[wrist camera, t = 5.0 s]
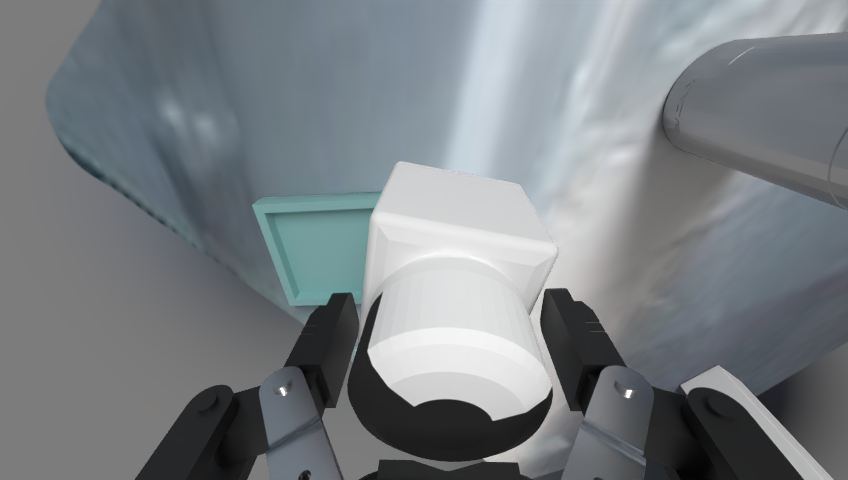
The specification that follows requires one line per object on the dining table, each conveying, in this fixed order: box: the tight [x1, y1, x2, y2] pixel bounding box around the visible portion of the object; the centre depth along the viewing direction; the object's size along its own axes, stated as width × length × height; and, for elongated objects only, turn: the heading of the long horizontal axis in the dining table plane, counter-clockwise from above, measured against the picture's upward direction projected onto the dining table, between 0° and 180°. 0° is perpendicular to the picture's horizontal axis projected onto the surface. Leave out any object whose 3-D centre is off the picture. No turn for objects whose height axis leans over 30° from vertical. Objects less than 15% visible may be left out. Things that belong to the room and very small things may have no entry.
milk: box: [680, 365, 833, 480], centre depth 37 cm, size 6×6×22 cm
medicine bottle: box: [347, 162, 559, 462], centre depth 14 cm, size 7×7×12 cm
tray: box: [252, 192, 382, 306], centre depth 36 cm, size 14×14×2 cm
